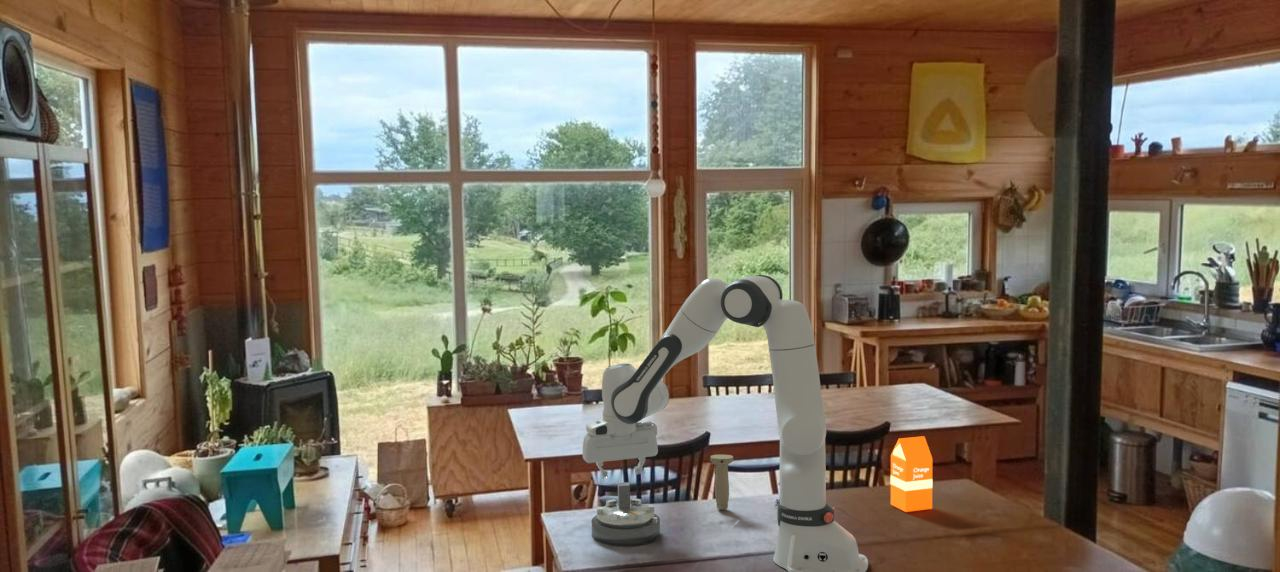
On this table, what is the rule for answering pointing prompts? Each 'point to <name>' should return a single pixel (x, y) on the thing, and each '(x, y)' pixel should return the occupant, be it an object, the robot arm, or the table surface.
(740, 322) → the robot arm
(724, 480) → the handle
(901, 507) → the orange juice
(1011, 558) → the table surface
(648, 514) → the round clock
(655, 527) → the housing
